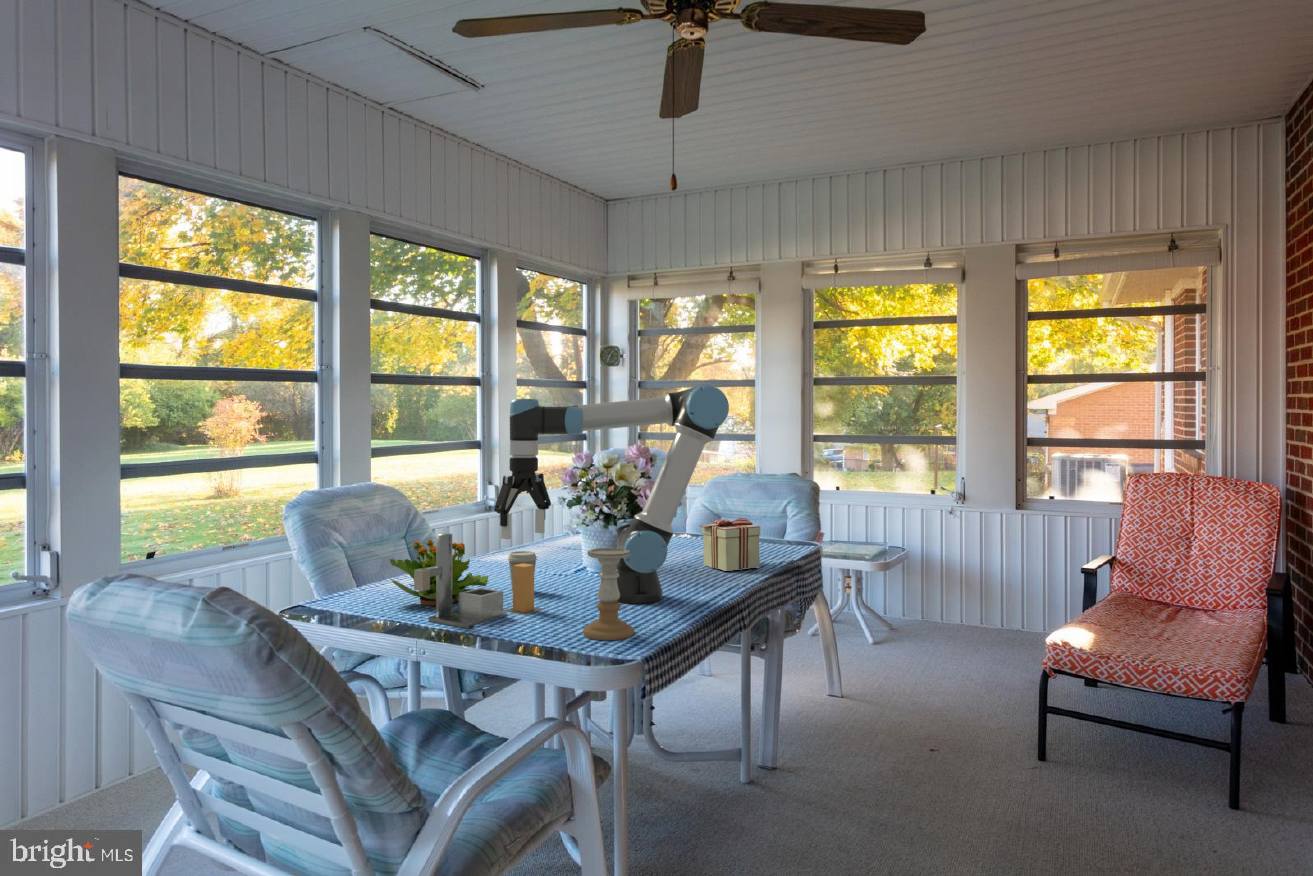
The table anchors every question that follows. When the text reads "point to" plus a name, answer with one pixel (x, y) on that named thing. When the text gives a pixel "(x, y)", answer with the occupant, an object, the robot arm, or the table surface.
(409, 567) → the potted flower
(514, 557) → the coffee cup
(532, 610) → the plate
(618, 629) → the candle holder
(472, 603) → the grey post stand
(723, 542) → the gift box
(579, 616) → the table surface
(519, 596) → the tan rectangular bar
